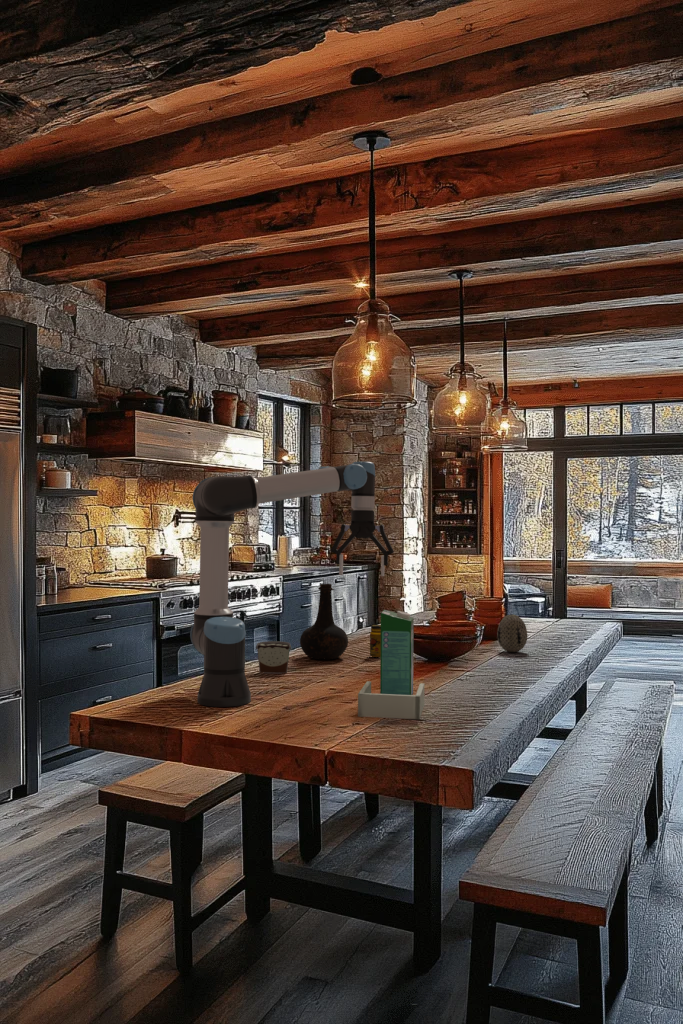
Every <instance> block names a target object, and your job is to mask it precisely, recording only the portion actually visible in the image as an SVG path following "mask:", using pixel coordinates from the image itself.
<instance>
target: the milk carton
mask: <svg viewBox="0 0 683 1024" xmlns="http://www.w3.org/2000/svg"><path fill="white" fill-rule="evenodd" d="M380 625H381V657H380V658H379V659H380V663H379V664H380V668H379V669H380V674H379V675H380V676H379V679H380V682H379V683H380V686H379V688H380V689H379V691H380V692H379V694H396V695H414V634H415V633H414V627H415V626H414V617H412V616H411V614H410V613H407V612H405V611H400V610H397V612H394V611H391V610H387V609H383V611H382V612H381V613H380Z"/></svg>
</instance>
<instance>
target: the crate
mask: <svg viewBox="0 0 683 1024" xmlns="http://www.w3.org/2000/svg"><path fill="white" fill-rule="evenodd" d="M415 693H416V694H412V695H396V694H380V693H372V681H370V680H369V681H368V680H367V681H366V682H365V684H364V685H363V687H362V688H361V689H360V690H359V692H358V693H357V717H359V718H360V717H364V718H366V717H367V718H380V719H381V718H384V719H385V718H386V719H402V720H404V719H405V720H421V717H422V714H423V711H424V708H423V707H425V683H419V685H418V688H417V691H416V692H415Z"/></svg>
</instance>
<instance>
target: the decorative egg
mask: <svg viewBox="0 0 683 1024" xmlns="http://www.w3.org/2000/svg"><path fill="white" fill-rule="evenodd" d="M496 634H497V635H496V637H497V642H498V644H499V646H500V647H501V648H502V649H503V650H505V651H506V652H507V653H519V652H520V651H522V649H524V647H525V646H526V644H527V642H528V629H527V625H526V624H525V622H524V620H523V618H521V617H520V616H518V615H516V614H511V613H510V614H507V615H505V616H504V617H503V618H502V619H501V620H500V622H499V624H498V627H497V633H496Z"/></svg>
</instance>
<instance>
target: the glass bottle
mask: <svg viewBox="0 0 683 1024" xmlns="http://www.w3.org/2000/svg"><path fill="white" fill-rule="evenodd" d="M332 585H333V584H332V583H320V584H319V587H318V590H319V601H318V608H317V614H316V620H315V622H314V623H313V624H312V625H311V626H309V627H307V628H306V629H305V630H304V631H302V633H301V635H300V638H299V645H300V648H301V650H302V652H303V653H304V654H305V655H306V656H307V657H309V658H311V659H315V660H319V659H322V660H323V661H329V660H330V659H332V660H336V659H338V658H340V657H341V656H342V655H343V654H344V653H345V652H346V650H347V647H348V646H349V645H348V644H349V638H348V634H347V633H346V631H345V630H344V629H343V628H341V627H340V626H338V625H336V623H335V620H334V614H333V600H332V599H333V598H332V591H333V590H335V588H334V587H332ZM322 660H321V661H322Z"/></svg>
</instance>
